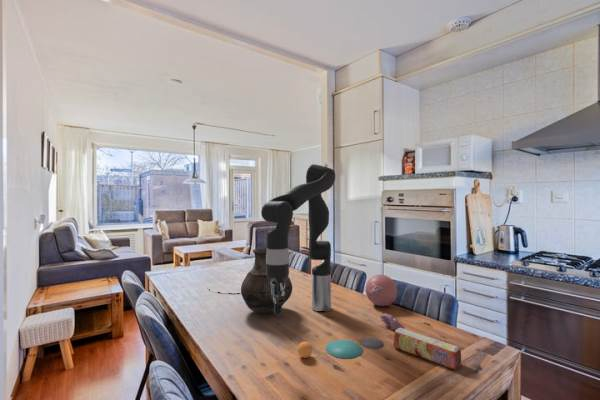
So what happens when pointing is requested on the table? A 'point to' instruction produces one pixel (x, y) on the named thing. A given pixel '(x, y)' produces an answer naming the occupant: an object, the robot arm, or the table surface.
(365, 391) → the table surface
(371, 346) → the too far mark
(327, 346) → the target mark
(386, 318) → the video game controller
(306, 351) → the ball
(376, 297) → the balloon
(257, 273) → the vase
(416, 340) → the snack package
